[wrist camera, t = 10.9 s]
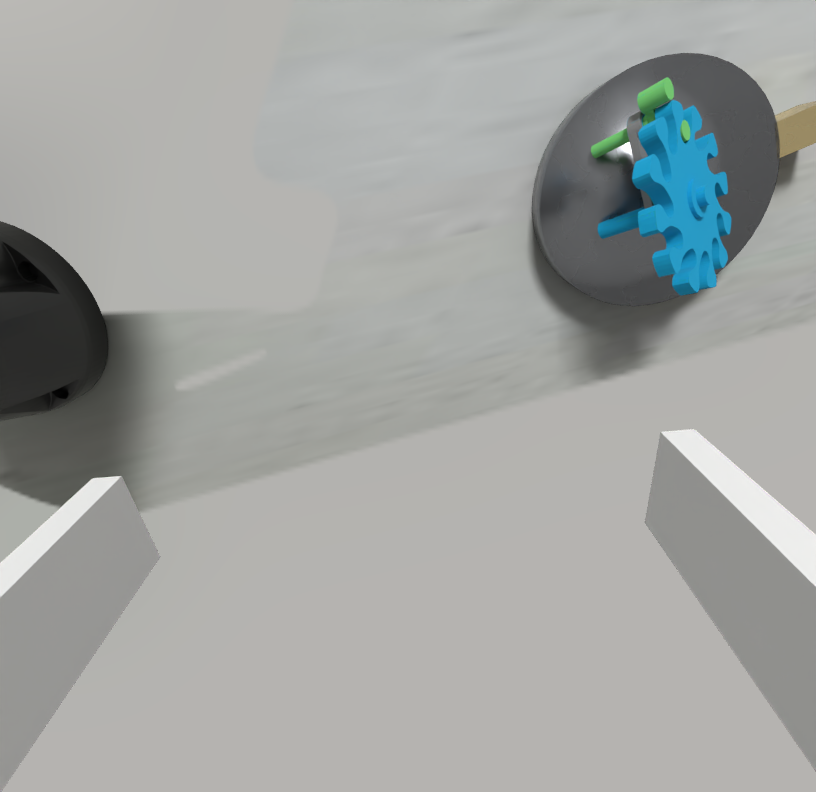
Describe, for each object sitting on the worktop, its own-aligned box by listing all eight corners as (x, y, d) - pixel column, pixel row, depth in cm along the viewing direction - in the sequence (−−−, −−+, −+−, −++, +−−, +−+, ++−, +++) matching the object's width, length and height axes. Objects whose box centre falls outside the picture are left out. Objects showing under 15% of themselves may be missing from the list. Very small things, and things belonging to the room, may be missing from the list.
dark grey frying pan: (563, 326, 33) (573, 336, 31) (504, 132, 28) (510, 127, 26) (806, 232, 30) (838, 235, 27) (790, -11, 24) (827, -31, 22)
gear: (753, 260, 27) (692, 317, 21) (653, 282, 31) (582, 333, 26) (720, 64, 24) (639, 74, 19) (615, 121, 29) (527, 141, 23)
